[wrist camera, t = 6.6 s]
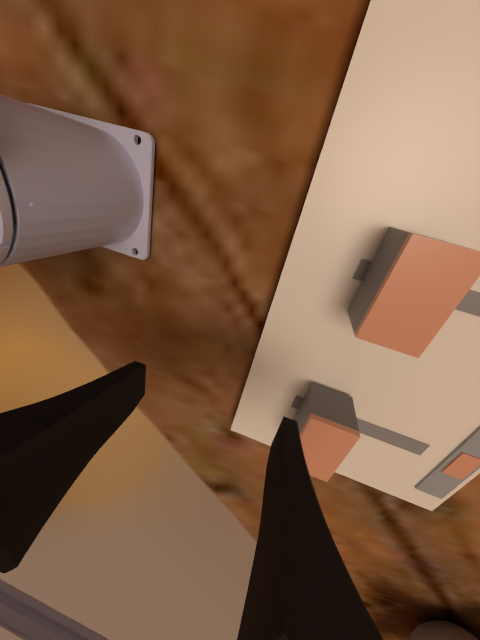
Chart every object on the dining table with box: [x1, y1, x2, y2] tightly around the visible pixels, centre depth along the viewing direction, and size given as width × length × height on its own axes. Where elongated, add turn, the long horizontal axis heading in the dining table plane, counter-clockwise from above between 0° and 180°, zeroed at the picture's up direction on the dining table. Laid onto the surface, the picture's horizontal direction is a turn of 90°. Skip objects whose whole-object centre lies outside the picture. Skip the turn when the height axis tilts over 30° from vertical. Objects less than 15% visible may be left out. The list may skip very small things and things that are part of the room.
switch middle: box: [347, 226, 480, 358], centre depth 12 cm, size 3×5×3 cm, turn 167°
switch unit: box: [231, 0, 480, 511], centre depth 14 cm, size 18×34×2 cm, turn 167°
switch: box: [293, 382, 360, 482], centre depth 17 cm, size 3×5×3 cm, turn 167°
